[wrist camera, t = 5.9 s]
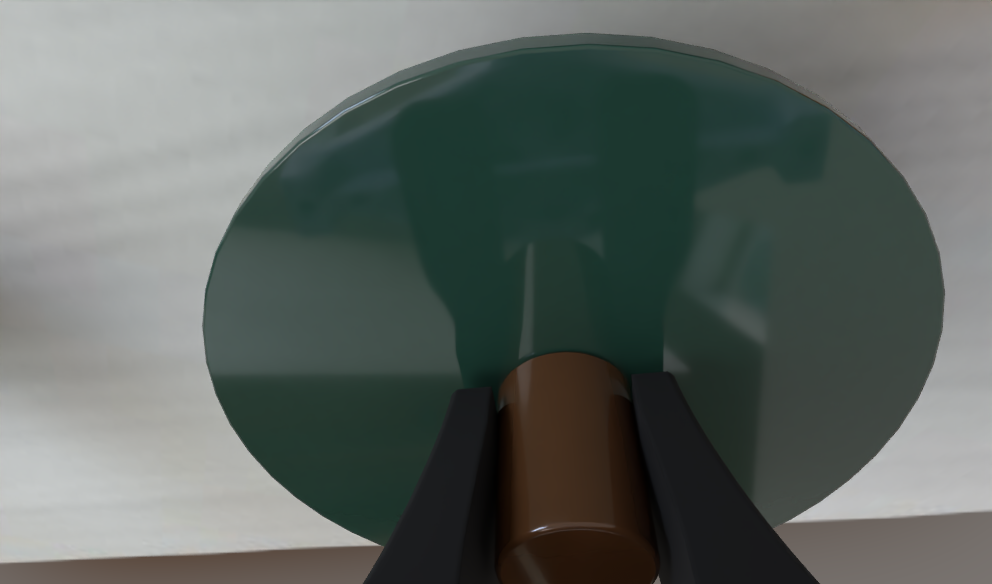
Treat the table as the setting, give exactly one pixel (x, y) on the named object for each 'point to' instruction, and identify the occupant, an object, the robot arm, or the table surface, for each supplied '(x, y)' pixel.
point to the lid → (572, 291)
